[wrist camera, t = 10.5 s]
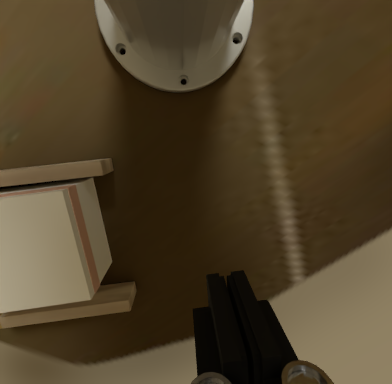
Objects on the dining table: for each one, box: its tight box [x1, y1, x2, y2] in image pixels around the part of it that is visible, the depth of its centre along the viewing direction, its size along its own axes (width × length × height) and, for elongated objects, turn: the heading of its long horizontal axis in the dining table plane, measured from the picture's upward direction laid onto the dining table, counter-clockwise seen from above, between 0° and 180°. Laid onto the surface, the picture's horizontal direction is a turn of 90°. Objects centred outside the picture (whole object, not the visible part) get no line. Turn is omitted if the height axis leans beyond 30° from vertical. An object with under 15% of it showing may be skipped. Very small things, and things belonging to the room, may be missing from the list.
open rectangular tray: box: [0, 158, 137, 329], centre depth 21 cm, size 14×13×3 cm
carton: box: [0, 178, 112, 313], centre depth 20 cm, size 9×9×6 cm
